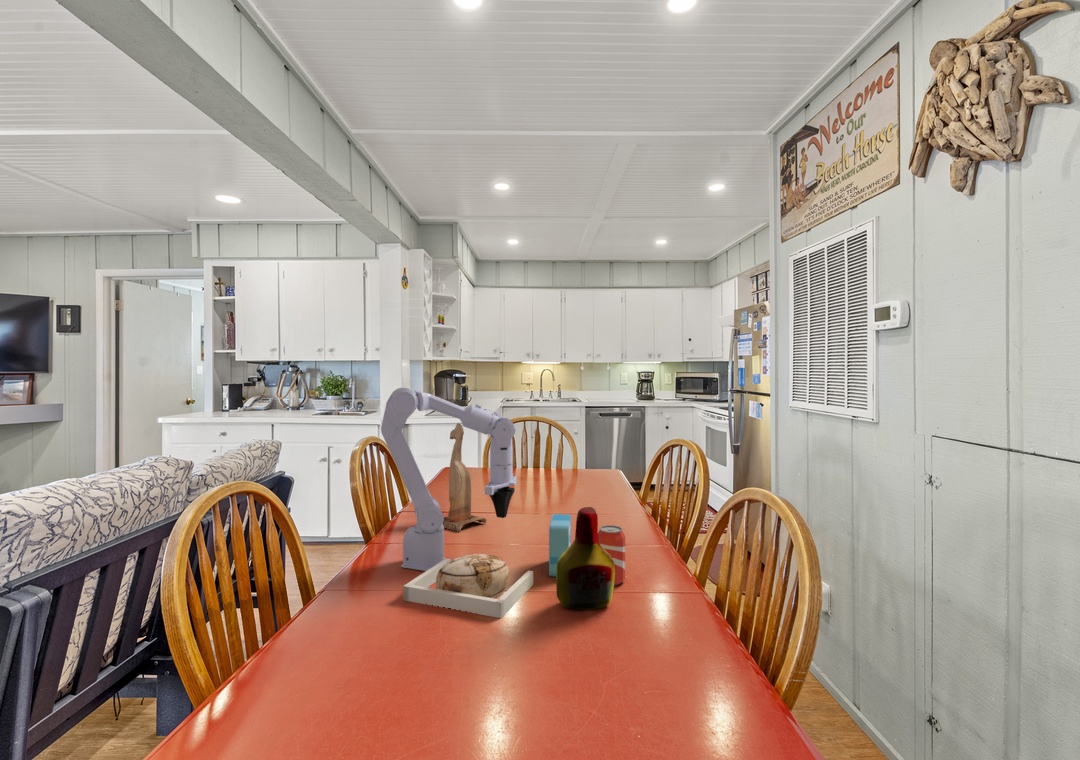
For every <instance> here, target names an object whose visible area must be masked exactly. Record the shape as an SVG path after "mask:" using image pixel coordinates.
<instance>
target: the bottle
mask: <svg viewBox="0 0 1080 760" xmlns="http://www.w3.org/2000/svg"><path fill="white" fill-rule="evenodd" d="M598 518H599V517H598V514H597V510H596V509H595V508H594V507H592V506H586V507H581V508H579V510H578V512H577V515H576V521H575V533H574V534H575V535H574V541H573V542H572V543H571V546H570V547H568V548H567V550H566V551H565V552H564V553H563V554H562V555H561V557H560V558H559V560H558V562H557V568H556V577H555V582H556V583H555V587H556V598H557V599H558V601H559V603H561V605H563V606H564V607H566V608H567V609H569V610H593V609H594V610H596V609H603V608H604V607H605V606H608V605H609V604H610V602H611V601H612V598H613V595H614V587H615V585H614V578H615V567H614V561H613V559H612V557H611V556H610V555H609V553H608V552H607V551H606V550H605V549H604V548H603V547H602V546H601V545H600V543H599V539H598V532H599V530H598V527H599V519H598Z"/></svg>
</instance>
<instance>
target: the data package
mask: <svg viewBox="0 0 1080 760" xmlns="http://www.w3.org/2000/svg"><path fill="white" fill-rule="evenodd" d="M571 515H572V514H560V513H558V514H557V513H553V514H552V516H551V519H550V522H549V526H548V528H549V529H548V574H549V577H555V578H556V568H557V562H558V560H559V558H560V557H561V555H562V554H563V553H564V552H565V551H566V550H567V548H568V547H570V546H571V545H572V517H571Z"/></svg>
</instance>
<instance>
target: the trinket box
mask: <svg viewBox="0 0 1080 760" xmlns="http://www.w3.org/2000/svg"><path fill="white" fill-rule="evenodd" d="M509 580H510V569H509V567H508V565H507V564H506V561H505V560H504V559H503V558H502V557H500V556H498V555H495V554H490V553H471V554H465V555H462V556H458V557H455V558H454V559H451V561H450V562H449V563H447V564H446V565H444V566H443V567H442V568H441V569H440V570H439V572H438V574H437V577H436V582H435V587H436V589H441V590H447V591H452V592H458V593H464V594H470V595H476V596H482V597H488V598H494V597H495V598H497V597H499V596H502V595H503V594H504V593H505V592H506V587H507V586H508V583H509ZM496 596H497V597H496ZM495 598H494V599H495Z"/></svg>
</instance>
